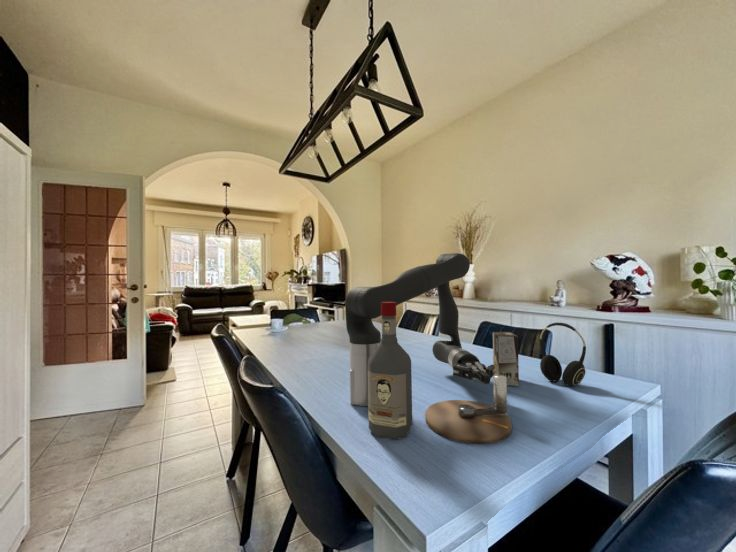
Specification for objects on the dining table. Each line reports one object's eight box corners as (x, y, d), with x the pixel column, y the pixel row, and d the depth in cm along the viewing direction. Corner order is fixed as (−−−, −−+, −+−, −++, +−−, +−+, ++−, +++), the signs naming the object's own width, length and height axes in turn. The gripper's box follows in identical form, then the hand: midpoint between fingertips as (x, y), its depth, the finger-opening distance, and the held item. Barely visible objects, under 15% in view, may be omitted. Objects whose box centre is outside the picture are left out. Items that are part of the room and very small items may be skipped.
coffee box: (519, 386, 100) (518, 336, 100) (498, 385, 101) (497, 335, 101) (512, 377, 109) (511, 331, 109) (493, 376, 110) (492, 331, 110)
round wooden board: (437, 446, 65) (437, 437, 65) (417, 406, 85) (417, 400, 85) (529, 441, 66) (529, 433, 66) (488, 404, 86) (488, 397, 86)
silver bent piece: (461, 418, 74) (460, 380, 74) (456, 411, 78) (455, 375, 78) (510, 416, 74) (509, 378, 75) (502, 409, 78) (501, 373, 79)
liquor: (379, 418, 79) (376, 300, 79) (414, 423, 76) (411, 301, 76) (365, 435, 70) (363, 303, 71) (404, 442, 67) (402, 304, 67)
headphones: (548, 375, 111) (546, 319, 111) (594, 387, 97) (592, 324, 98) (532, 379, 106) (531, 321, 107) (579, 392, 93) (577, 326, 94)
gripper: (442, 351, 98) (461, 366, 81) (483, 349, 99) (511, 364, 81) (442, 374, 98) (462, 395, 81) (483, 373, 99) (511, 393, 81)
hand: (487, 380), depth 81 cm, fingers closed
